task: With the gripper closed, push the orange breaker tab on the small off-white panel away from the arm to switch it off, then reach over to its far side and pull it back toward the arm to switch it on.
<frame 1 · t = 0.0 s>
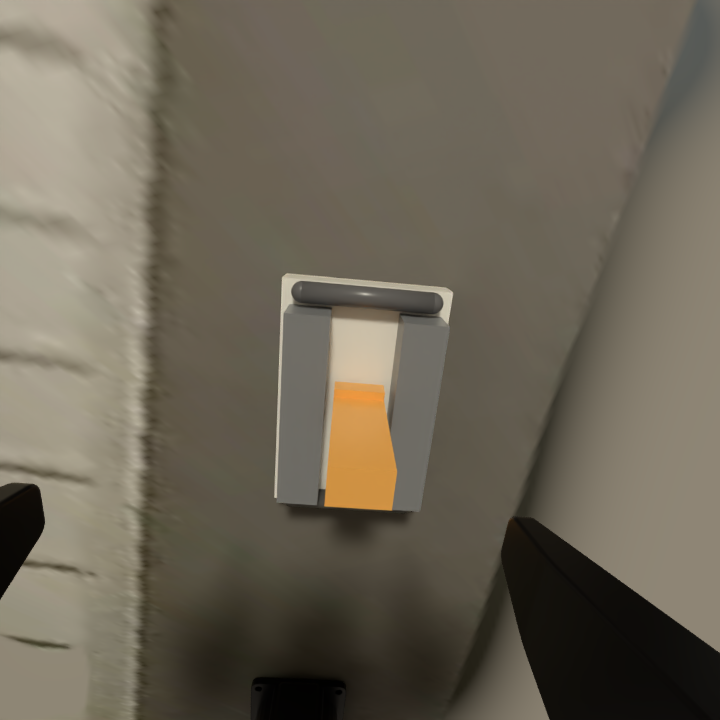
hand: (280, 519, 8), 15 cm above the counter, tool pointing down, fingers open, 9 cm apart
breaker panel: (356, 391, 23), on the counter
breaker tab: (358, 439, 18), point 5 cm above the counter, slide at 0.0 cm
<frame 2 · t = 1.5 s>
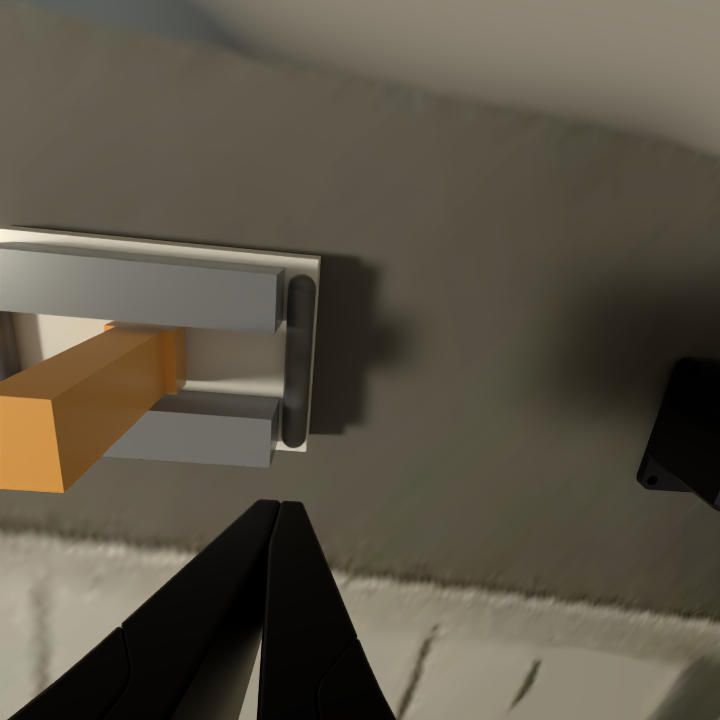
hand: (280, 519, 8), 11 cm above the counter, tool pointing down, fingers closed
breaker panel: (171, 339, 18), on the counter
breaker tab: (103, 387, 13), point 5 cm above the counter, slide at 0.0 cm
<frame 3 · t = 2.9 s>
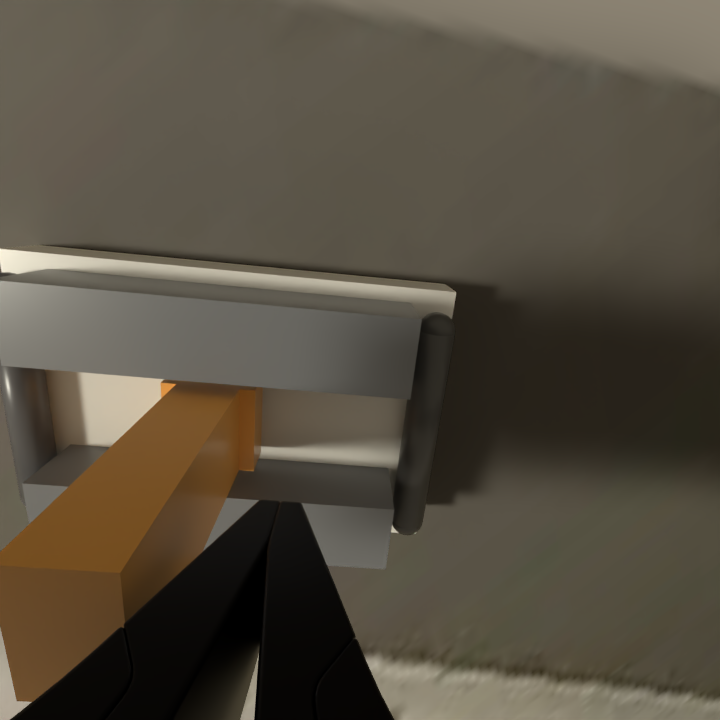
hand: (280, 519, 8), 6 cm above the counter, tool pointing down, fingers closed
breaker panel: (244, 389, 14), on the counter
breaker tab: (171, 484, 9), point 5 cm above the counter, slide at 0.3 cm, touching gripper
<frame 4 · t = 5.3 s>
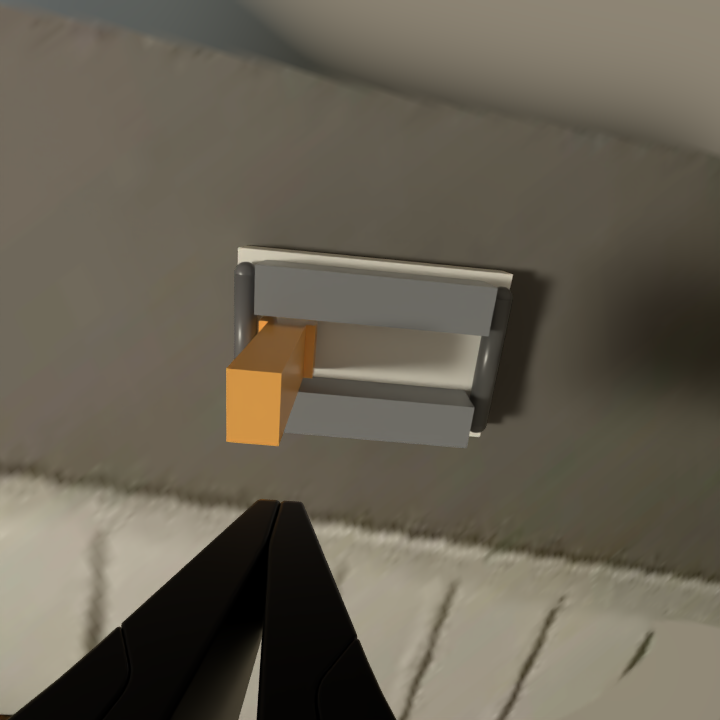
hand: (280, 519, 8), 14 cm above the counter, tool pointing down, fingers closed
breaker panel: (367, 340, 21), on the counter
breaker tab: (275, 369, 16), point 5 cm above the counter, slide at 3.6 cm
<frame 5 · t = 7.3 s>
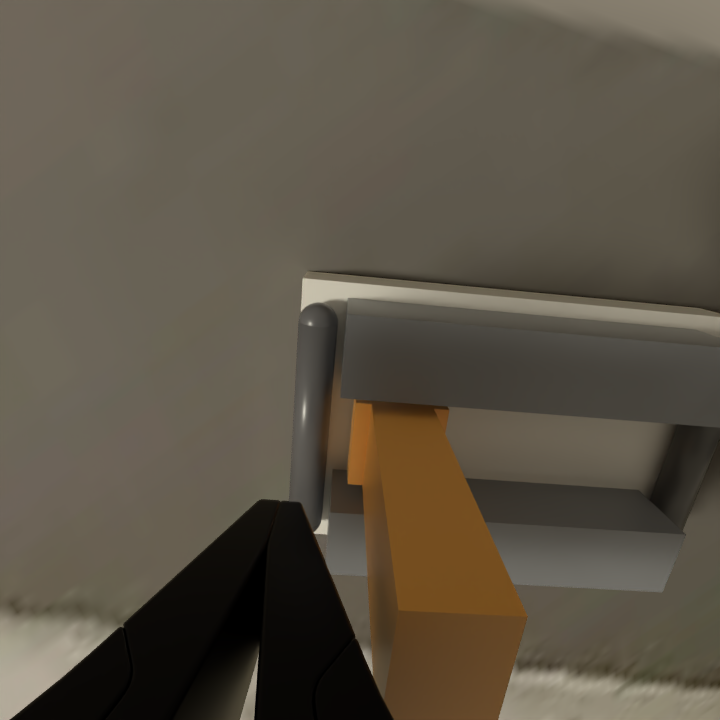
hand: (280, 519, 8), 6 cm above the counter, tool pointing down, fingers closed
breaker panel: (483, 411, 14), on the counter
breaker tab: (410, 509, 9), point 5 cm above the counter, slide at 3.2 cm, touching gripper
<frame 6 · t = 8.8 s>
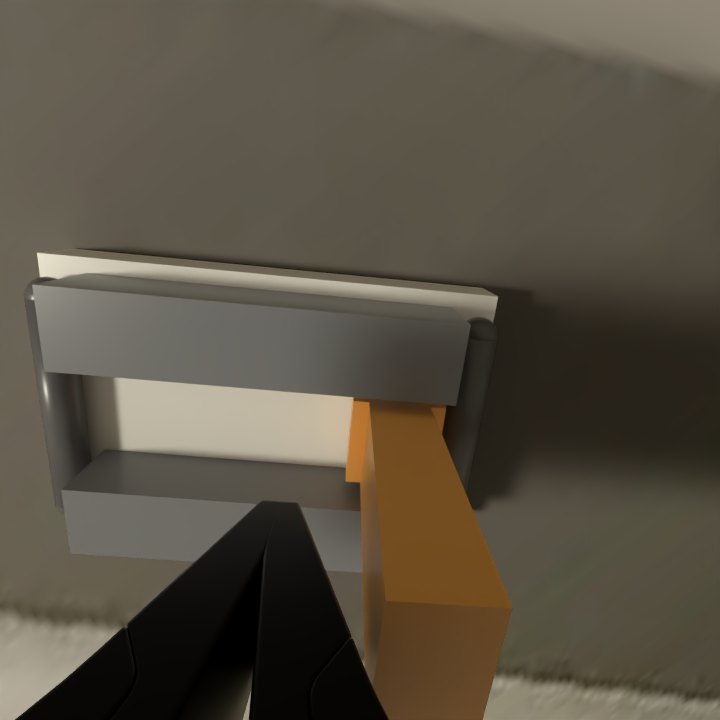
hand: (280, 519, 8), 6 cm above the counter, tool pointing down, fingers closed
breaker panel: (277, 393, 14), on the counter
breaker tab: (405, 506, 9), point 5 cm above the counter, slide at -3.6 cm, touching gripper
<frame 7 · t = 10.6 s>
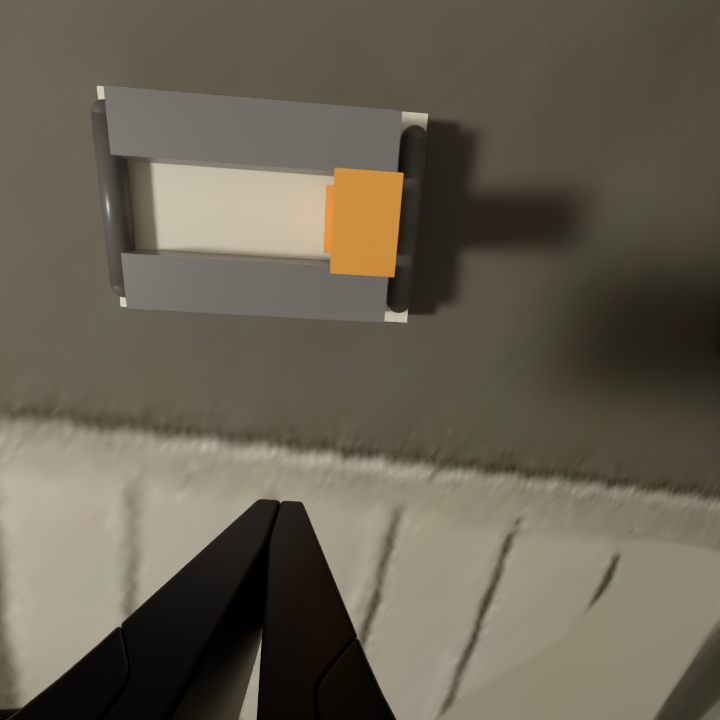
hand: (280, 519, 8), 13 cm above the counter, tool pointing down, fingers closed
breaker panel: (272, 215, 18), on the counter
breaker tab: (359, 222, 14), point 5 cm above the counter, slide at -3.6 cm
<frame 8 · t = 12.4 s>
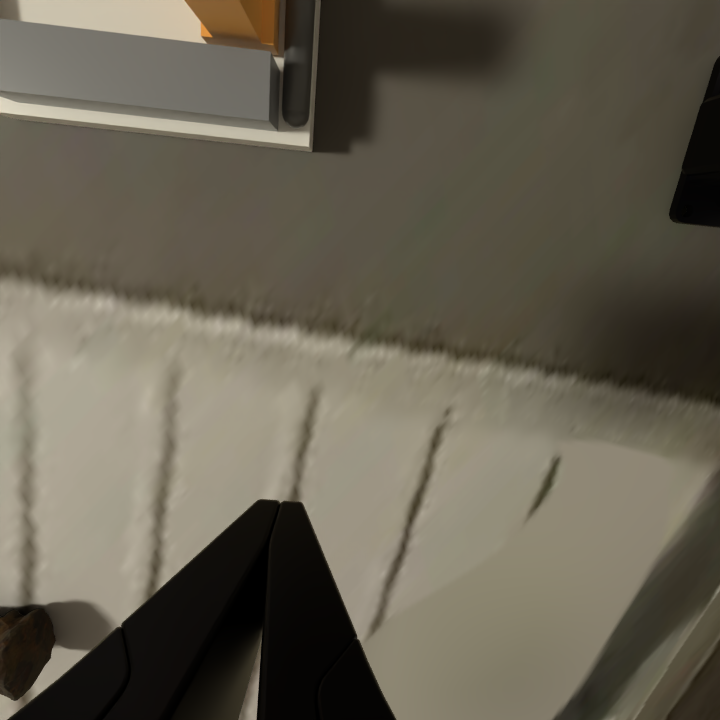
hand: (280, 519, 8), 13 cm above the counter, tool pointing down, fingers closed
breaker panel: (161, 20, 16), on the counter
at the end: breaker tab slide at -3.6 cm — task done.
